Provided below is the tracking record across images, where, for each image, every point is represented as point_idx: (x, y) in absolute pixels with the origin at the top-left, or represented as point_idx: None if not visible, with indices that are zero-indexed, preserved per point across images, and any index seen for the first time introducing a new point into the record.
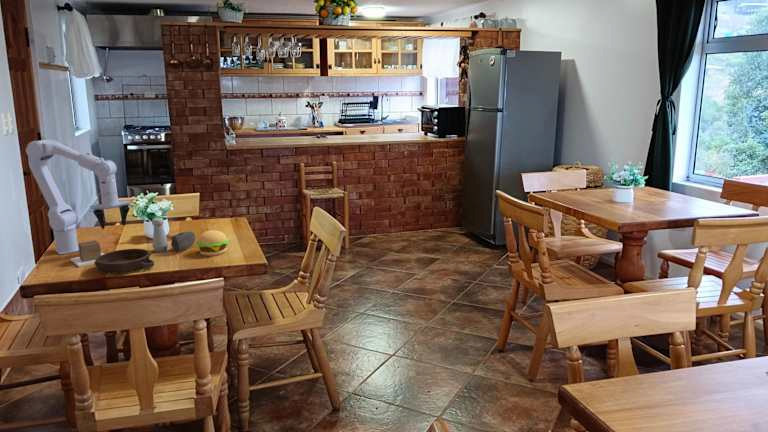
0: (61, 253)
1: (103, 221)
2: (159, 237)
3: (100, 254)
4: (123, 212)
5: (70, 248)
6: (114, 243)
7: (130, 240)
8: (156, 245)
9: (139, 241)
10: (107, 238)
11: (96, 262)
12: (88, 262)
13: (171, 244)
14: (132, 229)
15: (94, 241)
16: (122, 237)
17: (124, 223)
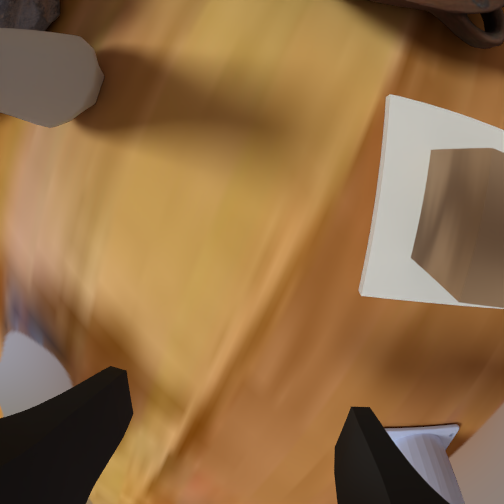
0: (454, 426)
1: (382, 470)
2: (33, 31)
3: (446, 149)
4: (6, 461)
5: (423, 442)
6: (208, 430)
7: (133, 412)
8: (83, 43)
9: (102, 366)
10: (204, 491)
11: (501, 8)
12: (500, 143)
13: (42, 2)
14: (107, 491)
15: (488, 253)
16: (152, 464)
17: (105, 376)
